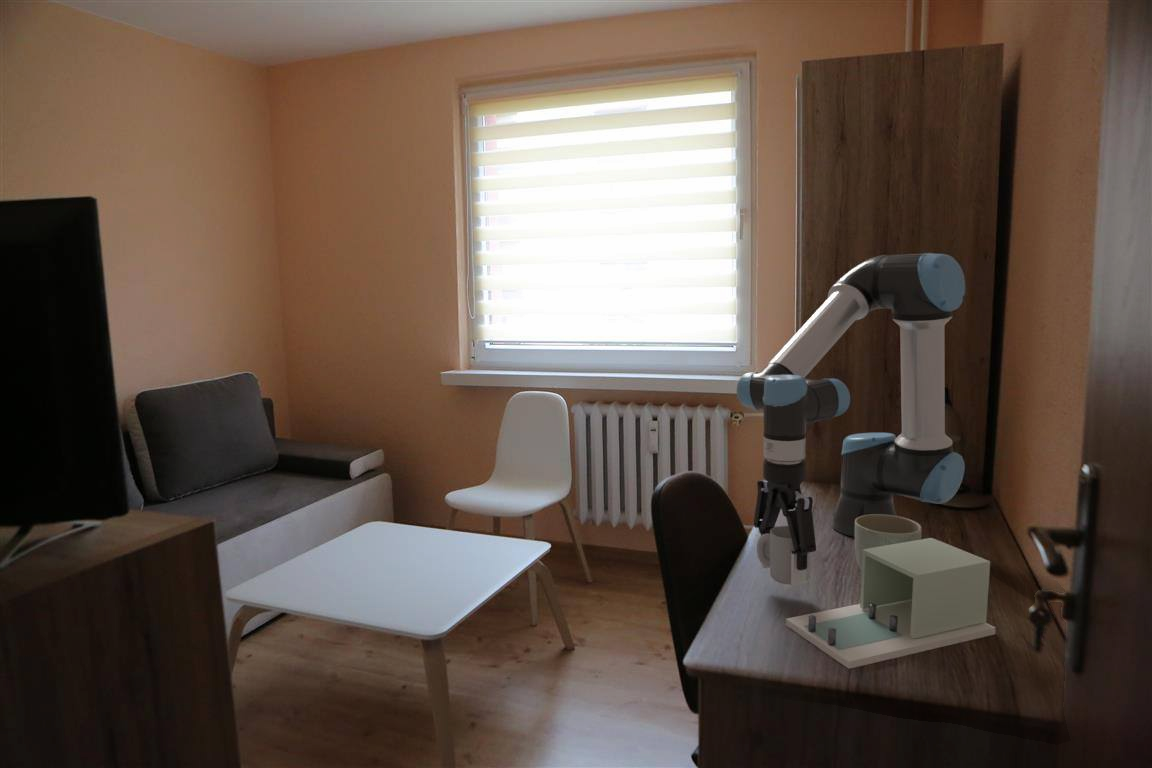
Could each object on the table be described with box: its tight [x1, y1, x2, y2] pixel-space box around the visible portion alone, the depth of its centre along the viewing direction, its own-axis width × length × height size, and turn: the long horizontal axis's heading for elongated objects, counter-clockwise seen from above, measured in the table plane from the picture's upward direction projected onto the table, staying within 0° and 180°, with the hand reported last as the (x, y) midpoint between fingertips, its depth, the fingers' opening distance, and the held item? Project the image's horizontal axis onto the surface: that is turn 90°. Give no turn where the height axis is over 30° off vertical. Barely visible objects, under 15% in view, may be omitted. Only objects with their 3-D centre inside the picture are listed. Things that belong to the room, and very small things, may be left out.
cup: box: [756, 524, 811, 586], centre depth 143 cm, size 7×10×9 cm
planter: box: [854, 514, 922, 570], centre depth 153 cm, size 12×12×11 cm
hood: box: [859, 537, 991, 638], centre depth 132 cm, size 16×13×11 cm
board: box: [785, 599, 996, 669], centre depth 130 cm, size 30×16×1 cm, turn 111°
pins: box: [808, 603, 898, 646], centre depth 127 cm, size 14×6×2 cm, turn 111°
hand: (782, 575), depth 143 cm, fingers closed on cup, 9 cm apart
